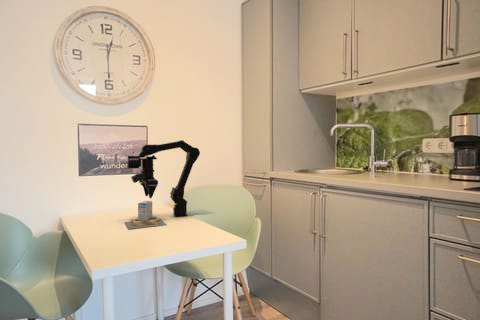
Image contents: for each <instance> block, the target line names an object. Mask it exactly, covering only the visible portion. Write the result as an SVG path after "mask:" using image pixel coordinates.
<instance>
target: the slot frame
mask: <svg viewBox="0 0 480 320" xmlns="http://www.w3.org/2000/svg"><path fill="white" fill-rule="evenodd" d="M159 219H160V218H158V217H157V216H152V218H150V219H149V220H147V221H138V217H137V218H131V219H130V221H131V223H132V225H133V226H142V225H153V224H160V220H159Z"/></svg>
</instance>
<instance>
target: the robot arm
mask: <svg viewBox="0 0 480 320" xmlns="http://www.w3.org/2000/svg"><path fill="white" fill-rule="evenodd" d="M179 148H180V149H181V150H182V151H183V152H185V153H186V157H185V163H184V165H183V167H182V168H183V169H182V171H181V174H180V176H179V179H178V181H177V185H176V186H175V187H174V186H173V187H172V188H171V192H170V193H169V195H170V199H171V201H173V203H174V204H173V207H172V210H173V211H172V212H173V216H174V217H176V218H178V217H188V213H187V210H188V207H187V204H188V201H187V200H186V199H185V198H184V195H185V187H186V186H187V185H186V184H187V182H188V179H189V176H190V174H191V172H192V168H193V165H194V164H195V162H196V161H197V160H198V158H199V156H200V155H201V151H200V149H199V148H198V147H193V146H192V145H190V144H189V143H188V142H186V141H184V140H183V139H182V140H177V141H172V142H167V143H161V144H160V143H159V144H144V145H143V146H142V147H141V150H140V153H139V154H138V155H127V163H126V164H127V165H126V166H127V169H128V170H129V169H131V170H133V169H140V167H141V170H140V173H136V174H134V175H132V176H131V177H130V179H131V180H132V182H133V183H137V182H138V183H139V185H141V186H142V187H143V191H144V195H145V197H148V198H149V199H152V198H153V196H154V195H155V191H156V189H157V187H158V186H159V181H158V179H157V178H155V177H154V174H155V169H154V160H157V159H158V158H157V157H156V156H155V154H156V153H157V154H158V153H160V152H163V151H169V150H174V149H179ZM151 155H152V156H151Z"/></svg>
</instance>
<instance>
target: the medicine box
mask: <svg viewBox="0 0 480 320" xmlns="http://www.w3.org/2000/svg"><path fill="white" fill-rule="evenodd" d="M152 217H153V200H143V201H140V202H138V203H137V218H138V221H147V220H149V219H150V218H152Z"/></svg>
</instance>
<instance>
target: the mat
mask: <svg viewBox="0 0 480 320" xmlns="http://www.w3.org/2000/svg"><path fill="white" fill-rule="evenodd" d="M158 219H159V220H160V224H153V225H142V226H133V225H132V223H131V220H130V221H124V225H125V226H126V229H127V230H128V231H129V230H138V229H148V228H149V229H150V228H155V227H156V228H157V227H164V226H168V225H167V223H166V222H164V220H163V219H161V218H158Z"/></svg>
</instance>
